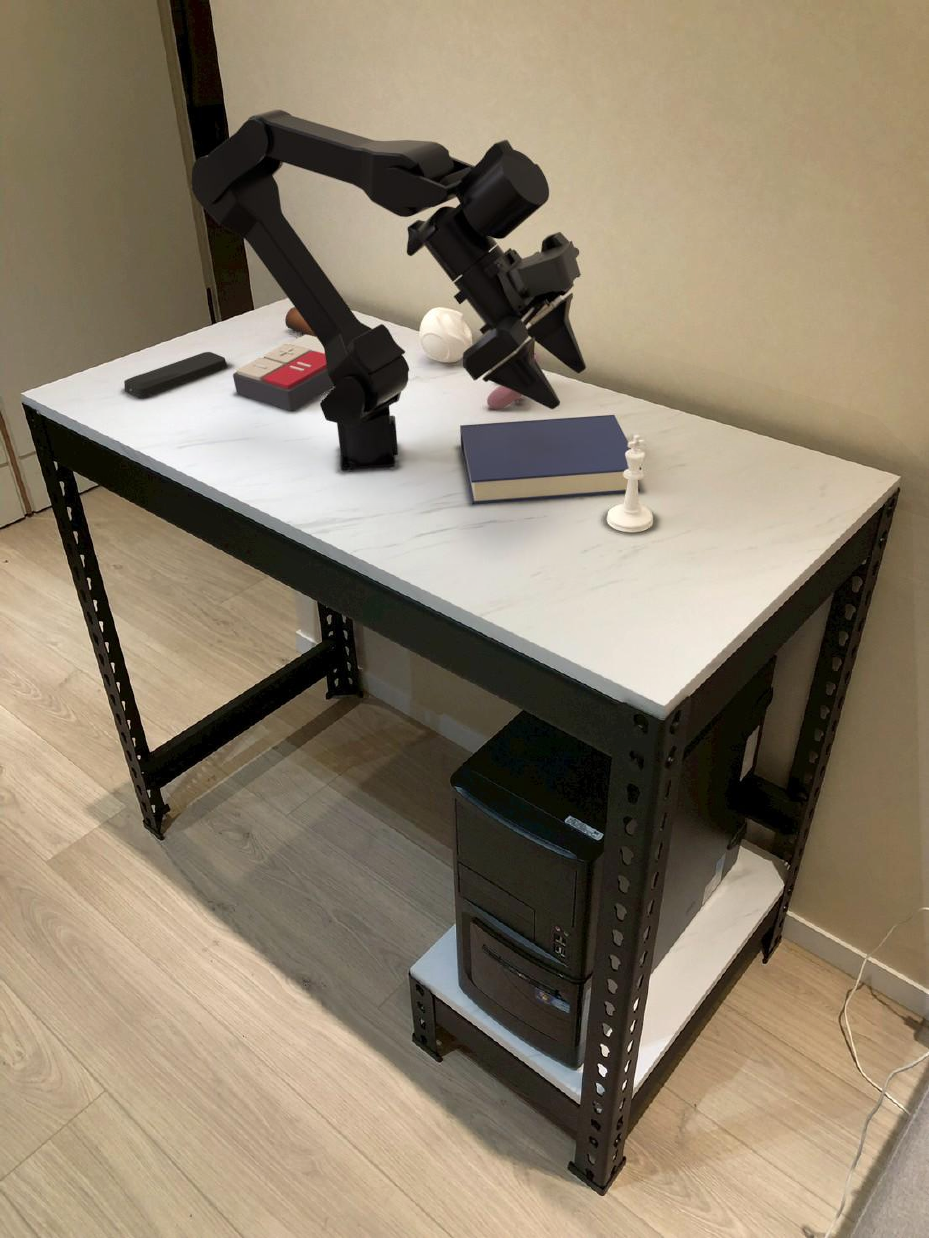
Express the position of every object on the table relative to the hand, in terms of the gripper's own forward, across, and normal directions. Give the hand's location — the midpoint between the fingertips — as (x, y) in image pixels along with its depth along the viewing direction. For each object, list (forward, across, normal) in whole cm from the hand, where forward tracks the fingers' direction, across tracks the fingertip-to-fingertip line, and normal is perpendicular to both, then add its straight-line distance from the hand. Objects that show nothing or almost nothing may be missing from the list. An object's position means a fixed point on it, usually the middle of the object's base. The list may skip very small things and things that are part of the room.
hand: (570, 388), depth 101 cm
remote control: (-30, +16, +57) cm, 66 cm away
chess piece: (+15, -2, +3) cm, 16 cm away
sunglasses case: (-20, +36, +45) cm, 61 cm away
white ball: (-8, +33, +31) cm, 46 cm away
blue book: (+7, +6, +12) cm, 16 cm away
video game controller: (+1, +24, +20) cm, 32 cm away
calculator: (-19, +19, +43) cm, 51 cm away
